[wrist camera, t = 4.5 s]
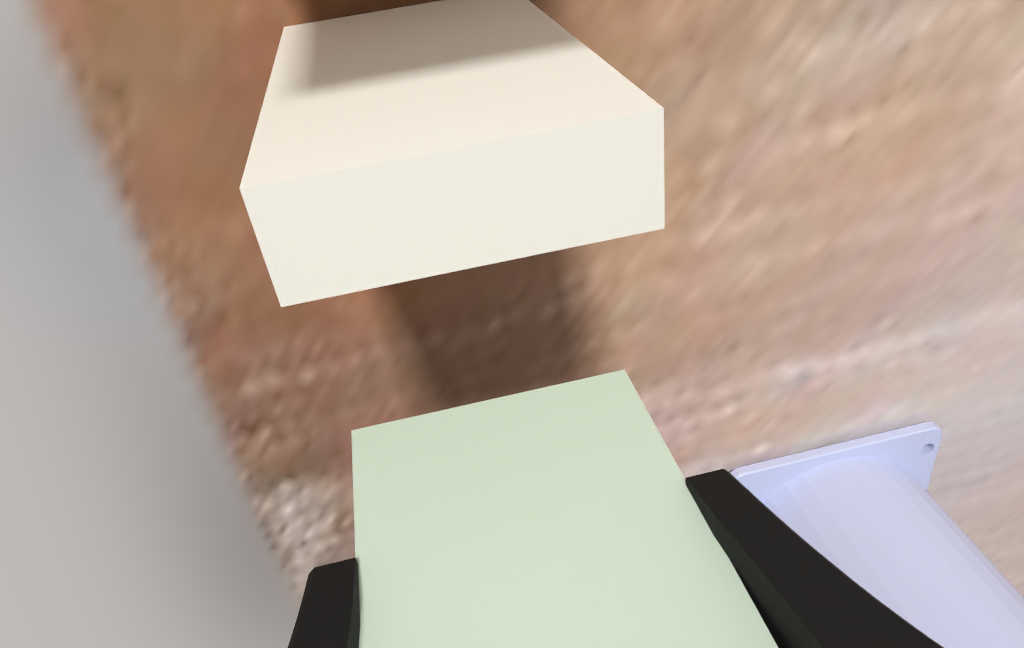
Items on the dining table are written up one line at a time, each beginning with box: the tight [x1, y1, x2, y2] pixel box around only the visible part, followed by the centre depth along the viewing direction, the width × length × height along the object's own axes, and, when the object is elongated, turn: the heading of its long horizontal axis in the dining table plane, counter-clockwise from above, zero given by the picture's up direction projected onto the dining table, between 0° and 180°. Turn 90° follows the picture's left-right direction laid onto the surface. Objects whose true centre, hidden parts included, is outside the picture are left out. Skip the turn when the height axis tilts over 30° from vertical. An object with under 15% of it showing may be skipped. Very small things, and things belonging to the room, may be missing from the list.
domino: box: [240, 0, 664, 307], centre depth 13 cm, size 2×5×9 cm, turn 98°
